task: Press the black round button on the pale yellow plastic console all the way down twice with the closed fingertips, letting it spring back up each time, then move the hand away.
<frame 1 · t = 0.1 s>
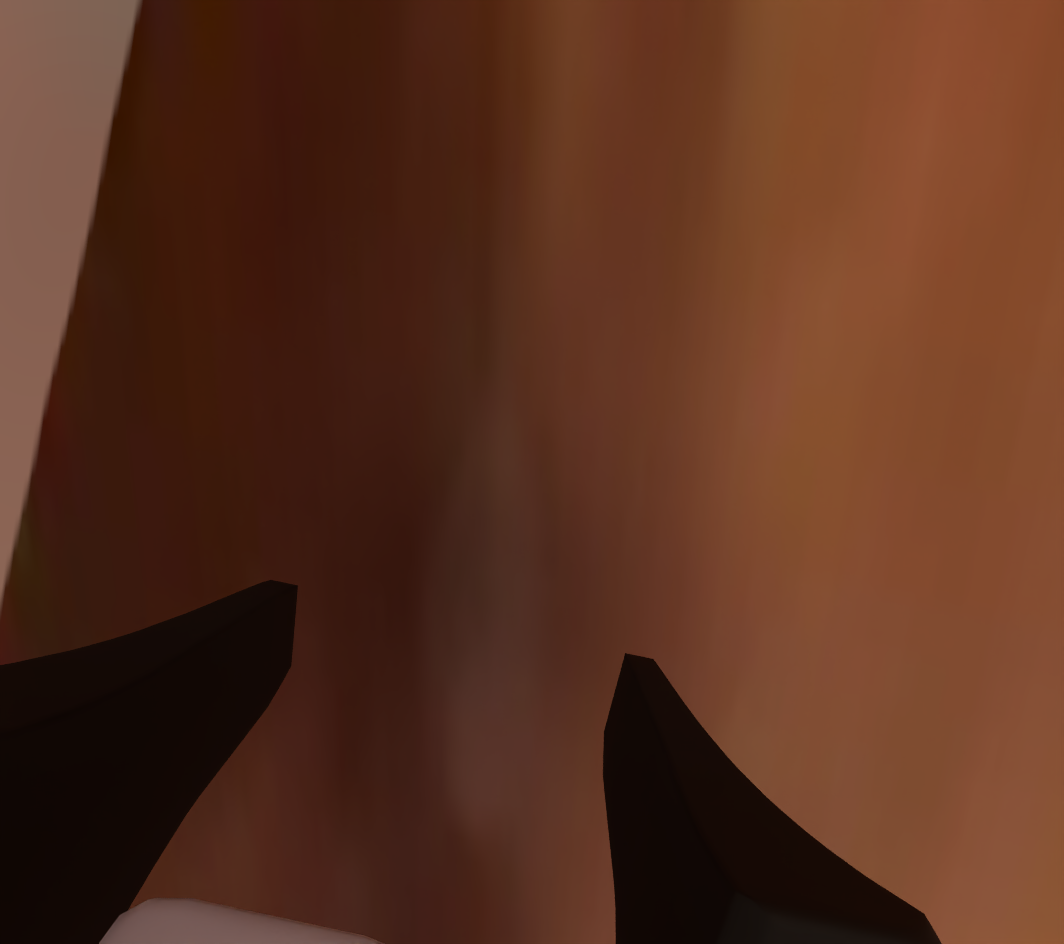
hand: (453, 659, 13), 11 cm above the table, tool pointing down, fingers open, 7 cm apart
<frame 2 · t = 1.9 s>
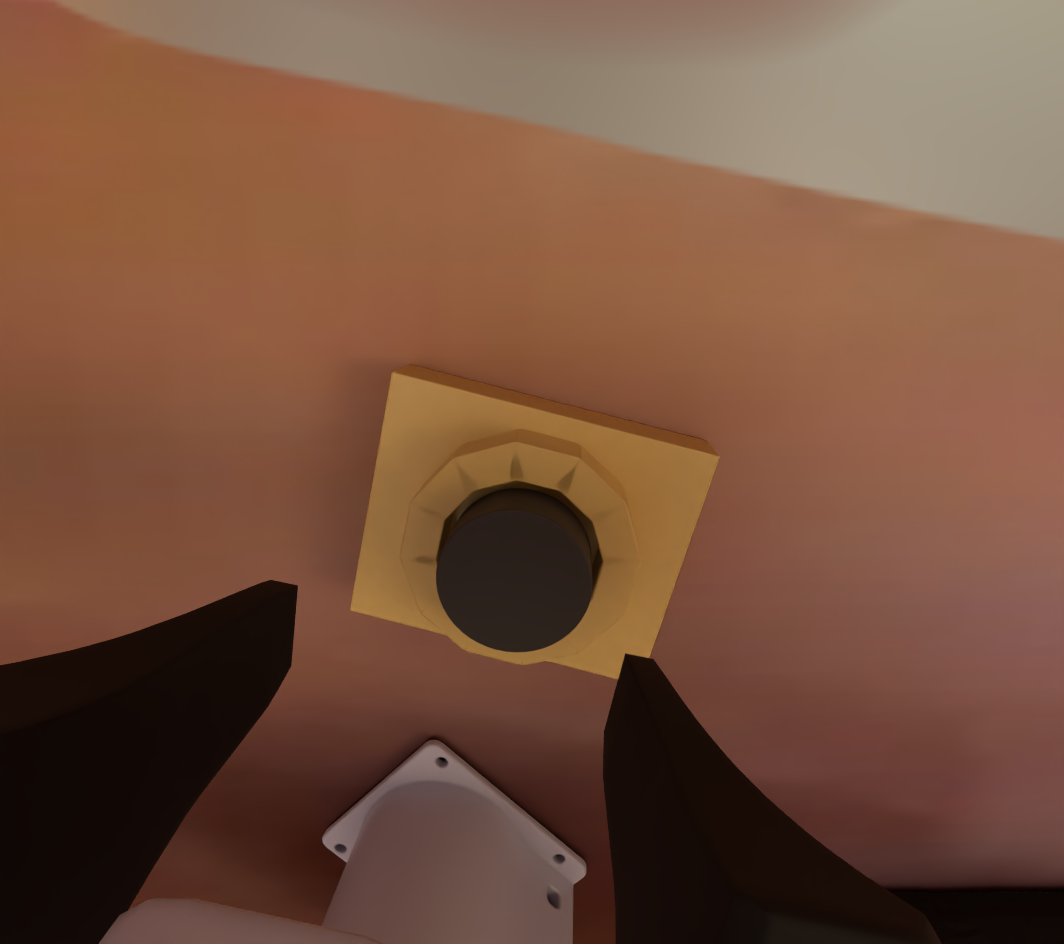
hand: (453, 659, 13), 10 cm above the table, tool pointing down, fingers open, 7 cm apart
console: (528, 516, 23), on the table
button: (516, 568, 19), point 5 cm above the table, slide at 0.1 cm
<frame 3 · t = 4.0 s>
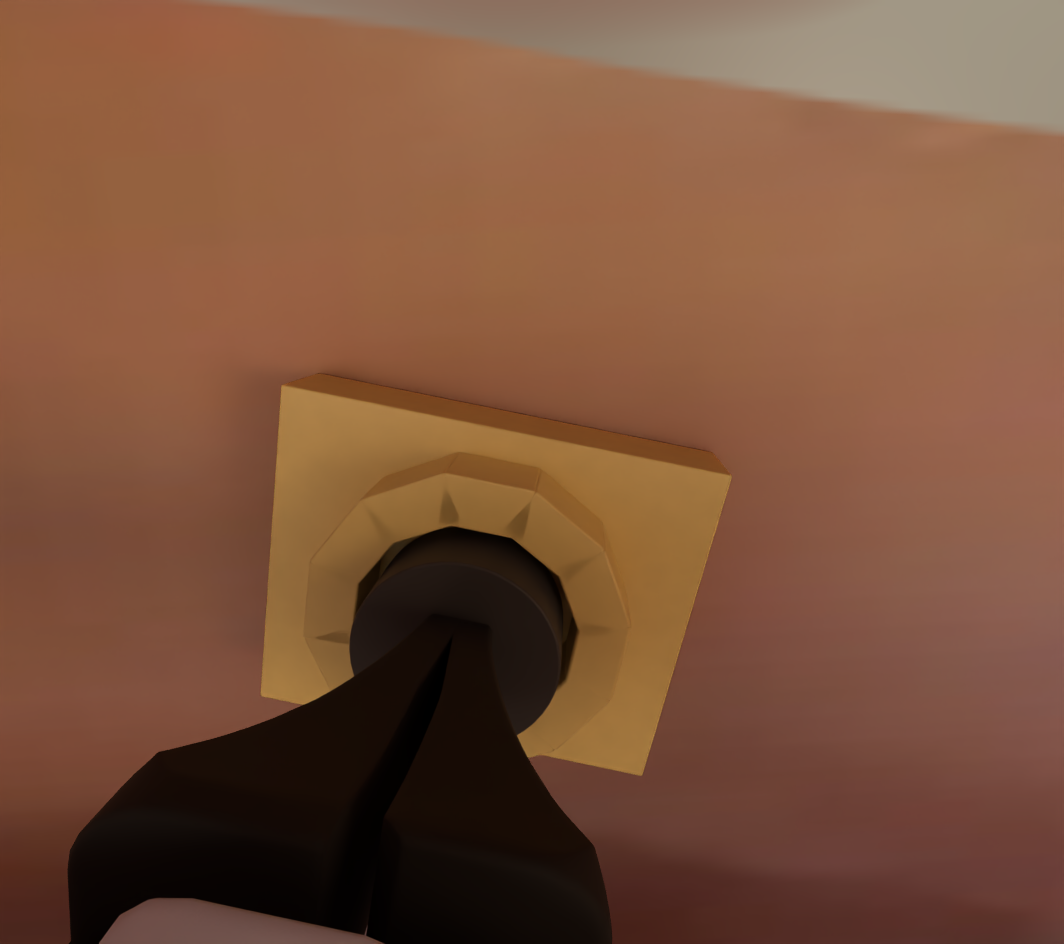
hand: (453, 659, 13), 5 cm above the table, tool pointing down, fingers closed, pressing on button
console: (487, 560, 18), on the table
button: (462, 635, 14), point 4 cm above the table, slide at -0.4 cm, touching gripper
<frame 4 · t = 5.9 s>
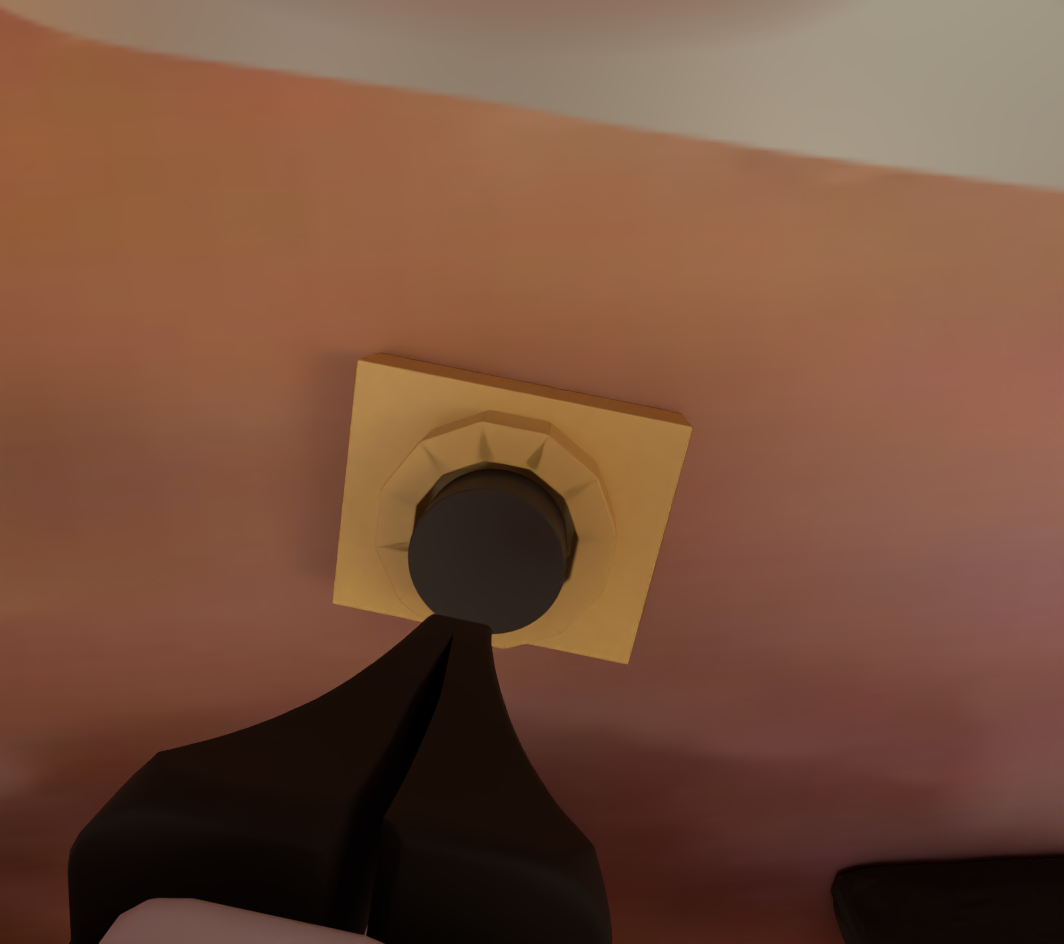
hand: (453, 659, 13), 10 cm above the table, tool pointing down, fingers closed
console: (507, 500, 23), on the table
button: (490, 550, 19), point 5 cm above the table, slide at 0.1 cm
film camera: (1021, 926, 27), on the table
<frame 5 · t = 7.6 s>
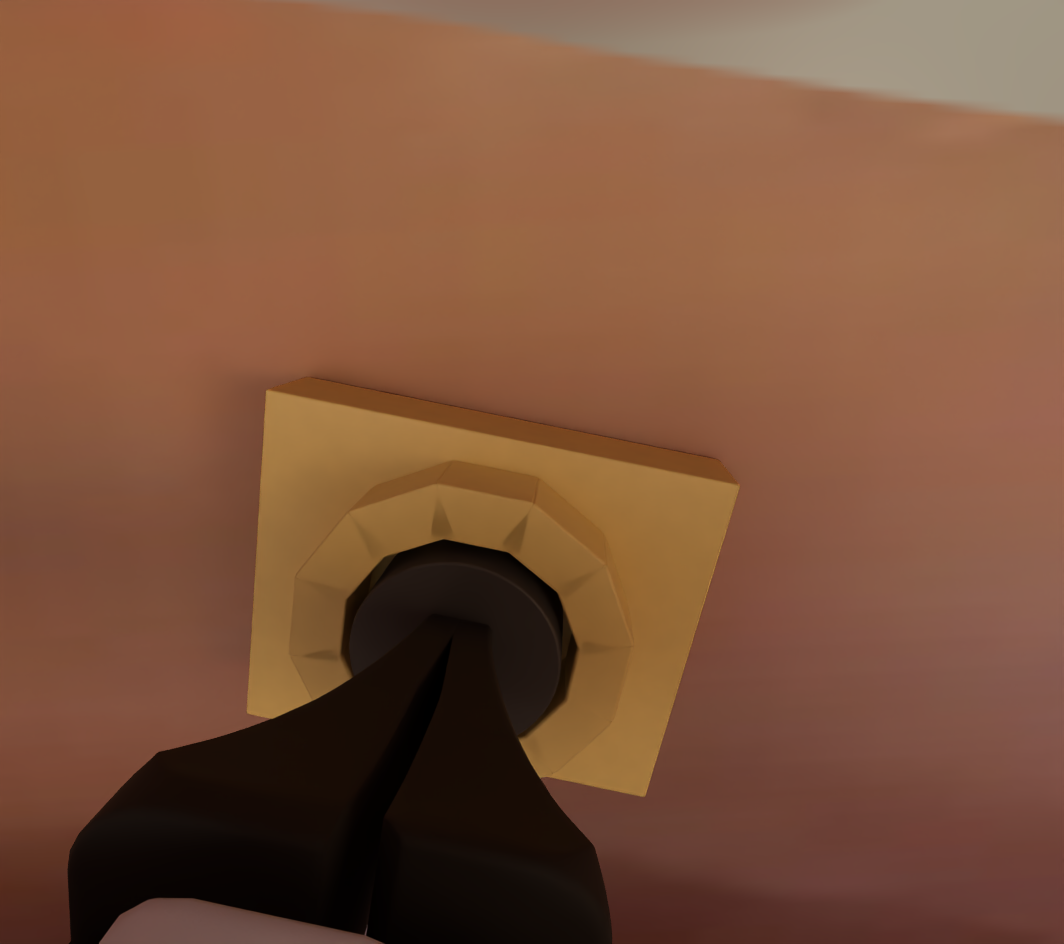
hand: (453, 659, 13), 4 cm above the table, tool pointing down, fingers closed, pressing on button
console: (483, 571, 17), on the table
button: (462, 635, 14), point 3 cm above the table, slide at -1.2 cm, touching gripper
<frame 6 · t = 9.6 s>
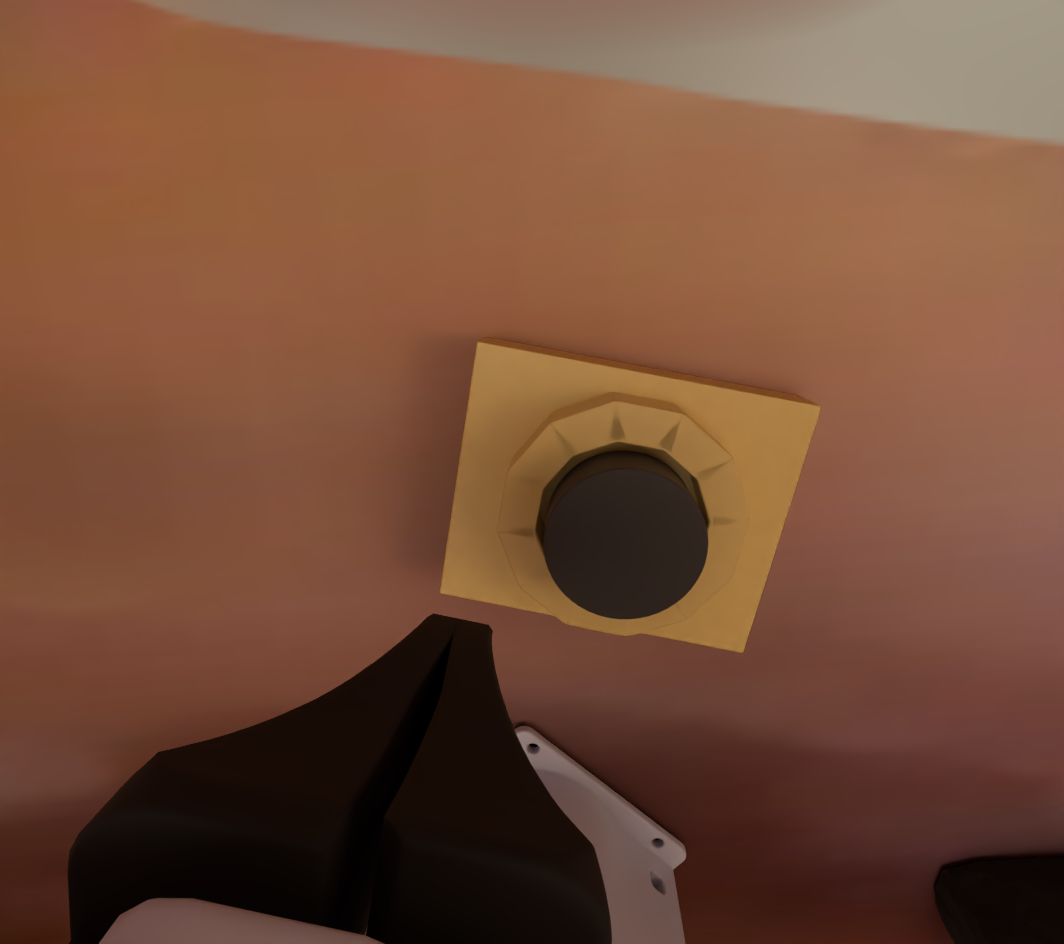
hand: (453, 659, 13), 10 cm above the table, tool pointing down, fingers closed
console: (614, 486, 23), on the table
button: (622, 533, 18), point 5 cm above the table, slide at 0.1 cm
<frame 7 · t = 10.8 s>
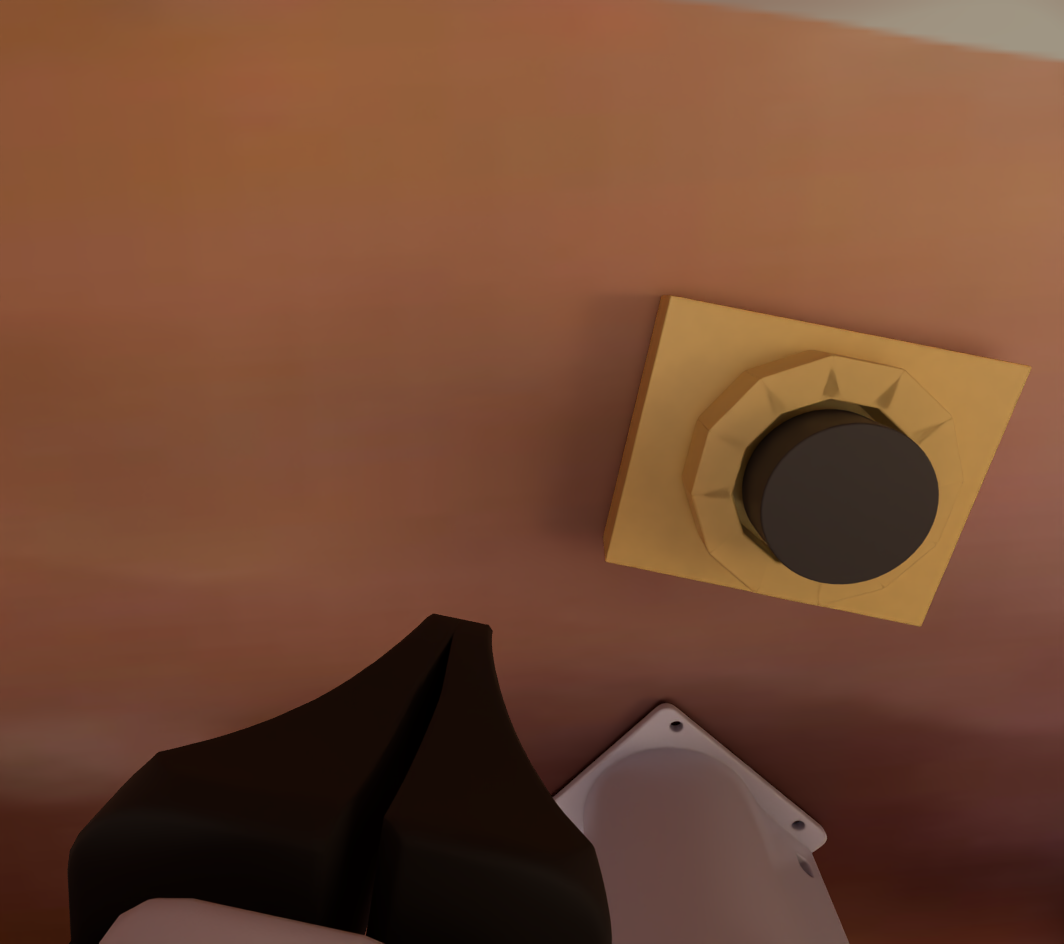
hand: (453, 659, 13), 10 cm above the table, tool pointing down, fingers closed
console: (782, 454, 22), on the table
button: (833, 495, 17), point 5 cm above the table, slide at 0.1 cm
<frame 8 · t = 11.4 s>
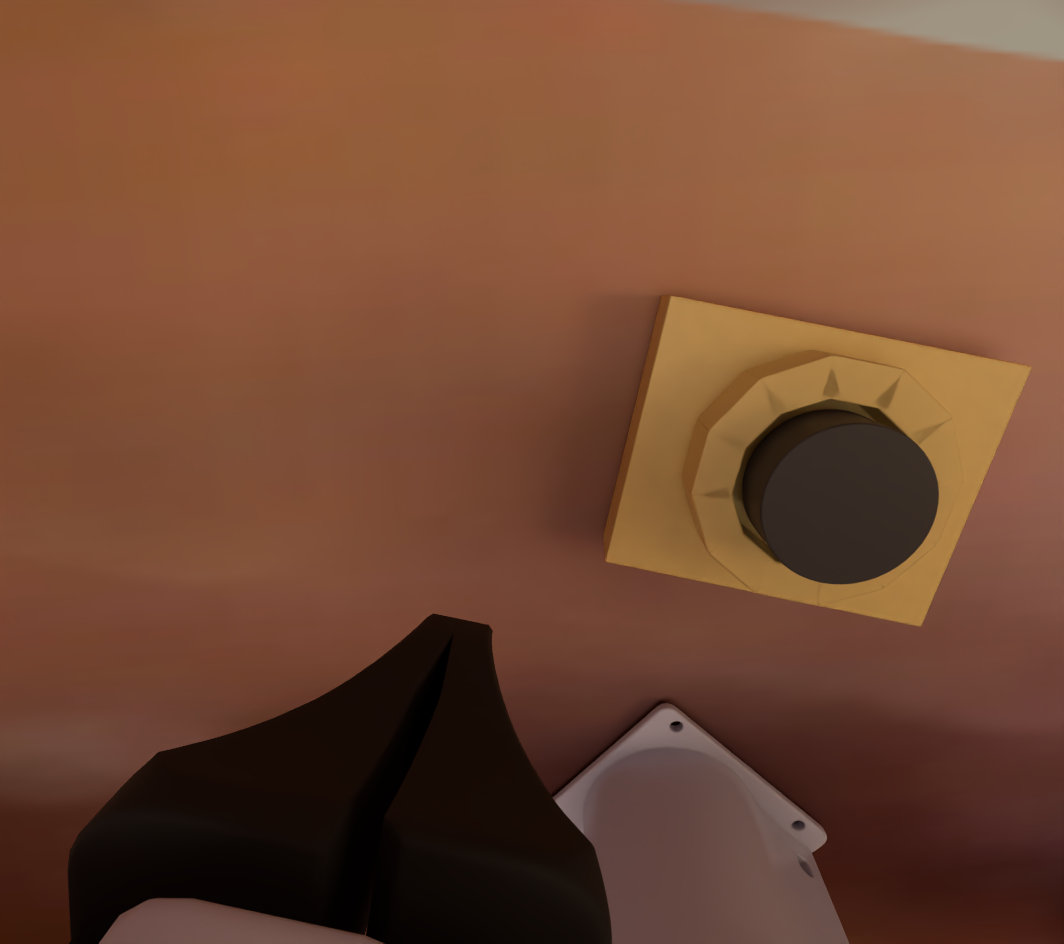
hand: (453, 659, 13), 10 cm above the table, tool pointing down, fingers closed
console: (782, 454, 22), on the table
button: (833, 495, 17), point 5 cm above the table, slide at 0.1 cm
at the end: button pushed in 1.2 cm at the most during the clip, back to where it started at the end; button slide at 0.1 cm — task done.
